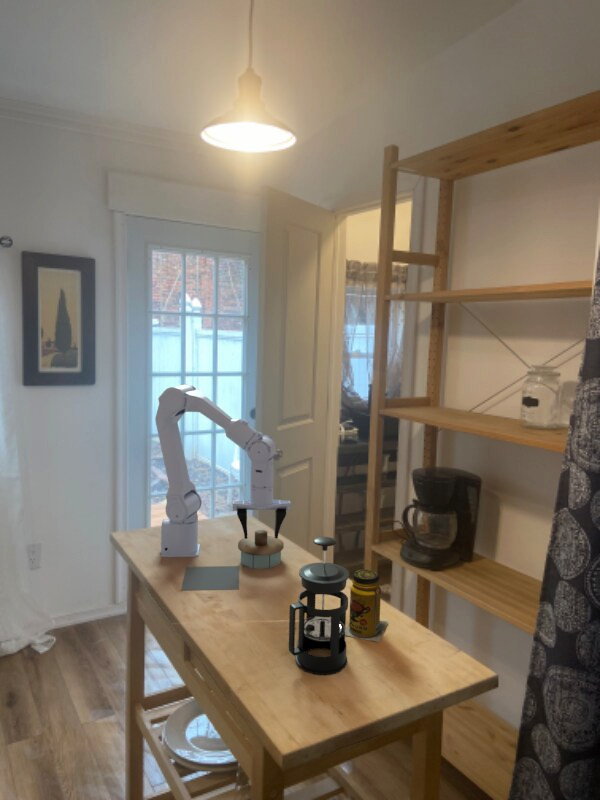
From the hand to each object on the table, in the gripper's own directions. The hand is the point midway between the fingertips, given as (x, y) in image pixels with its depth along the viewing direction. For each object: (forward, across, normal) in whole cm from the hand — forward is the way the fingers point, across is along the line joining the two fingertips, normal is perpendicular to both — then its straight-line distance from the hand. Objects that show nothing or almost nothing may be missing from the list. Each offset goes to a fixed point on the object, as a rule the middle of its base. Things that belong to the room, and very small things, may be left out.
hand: (261, 537), depth 152 cm
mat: (+6, -12, -10) cm, 17 cm away
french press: (+7, +9, -46) cm, 47 cm away
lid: (+2, 0, 0) cm, 2 cm away
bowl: (+6, 0, 0) cm, 6 cm away
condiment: (+7, +20, -35) cm, 41 cm away
